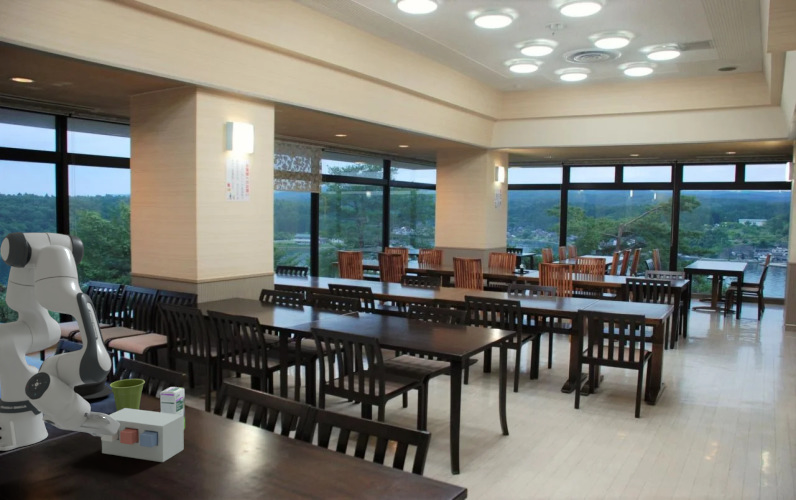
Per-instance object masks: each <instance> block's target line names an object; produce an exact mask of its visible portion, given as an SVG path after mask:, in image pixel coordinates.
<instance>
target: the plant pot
mask: <svg viewBox="0 0 796 500" xmlns="http://www.w3.org/2000/svg"><path fill="white" fill-rule="evenodd" d="M145 383H146V381H145V380H144V379H141V378H129V379H128V378H126V379H120V380H115V381H114V382H111V383H110V384H109V388H111V389H112V392H113V398H114V402H115V408H116V412H117V411H119V410H122V409H124V408H129V409H137V410H140V404H141V398H142V391H143V387H144V384H145Z"/></svg>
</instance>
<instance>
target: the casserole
mask: <svg viewBox="0 0 796 500" xmlns="http://www.w3.org/2000/svg"><path fill="white" fill-rule="evenodd" d="M107 380H108V377H107V376H106V377H105V379H104V380H103V381H101V382H96V383H89V384H82V385H78V386H74V392H75V393H77V394H79V395H80V396H81V397H82V398H83V399H84V400H94V399H95V400H96V399H101V398H103V397H107V396H109V395H111V394H112V393H113V392H112V388H111V387H110V386H108V385H106V382H107Z"/></svg>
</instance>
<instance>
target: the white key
mask: <svg viewBox="0 0 796 500" xmlns="http://www.w3.org/2000/svg"><path fill="white" fill-rule="evenodd" d="M117 439H119V429H118V431H117V433H116V434H115V435H114V436H111V435H103V437H100V440H101V441H102V440H103V441H110V442H113V441H115V440H117Z"/></svg>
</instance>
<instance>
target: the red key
mask: <svg viewBox="0 0 796 500" xmlns="http://www.w3.org/2000/svg"><path fill="white" fill-rule="evenodd" d="M137 441H139V439H138V429H130V428H127V429H125V430H123V431H120V443H124V444H131V445H132V444H134V443H136V442H137Z"/></svg>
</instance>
